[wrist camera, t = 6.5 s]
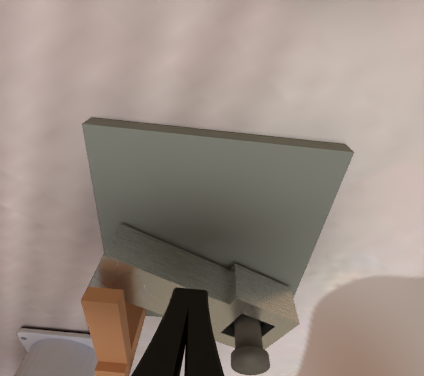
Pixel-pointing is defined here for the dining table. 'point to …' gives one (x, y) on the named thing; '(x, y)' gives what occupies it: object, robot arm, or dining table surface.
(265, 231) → the base
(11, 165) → the dining table surface
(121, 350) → the bracket
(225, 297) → the latch
